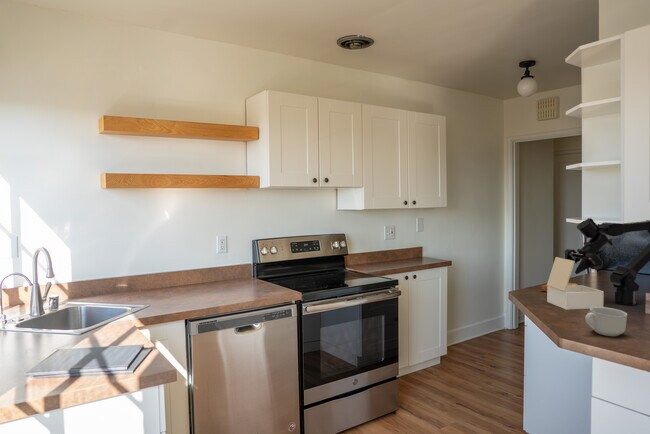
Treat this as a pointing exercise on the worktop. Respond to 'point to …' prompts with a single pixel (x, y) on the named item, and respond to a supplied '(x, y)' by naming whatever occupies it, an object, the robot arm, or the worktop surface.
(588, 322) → the teacup
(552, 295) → the carton
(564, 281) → the flap
